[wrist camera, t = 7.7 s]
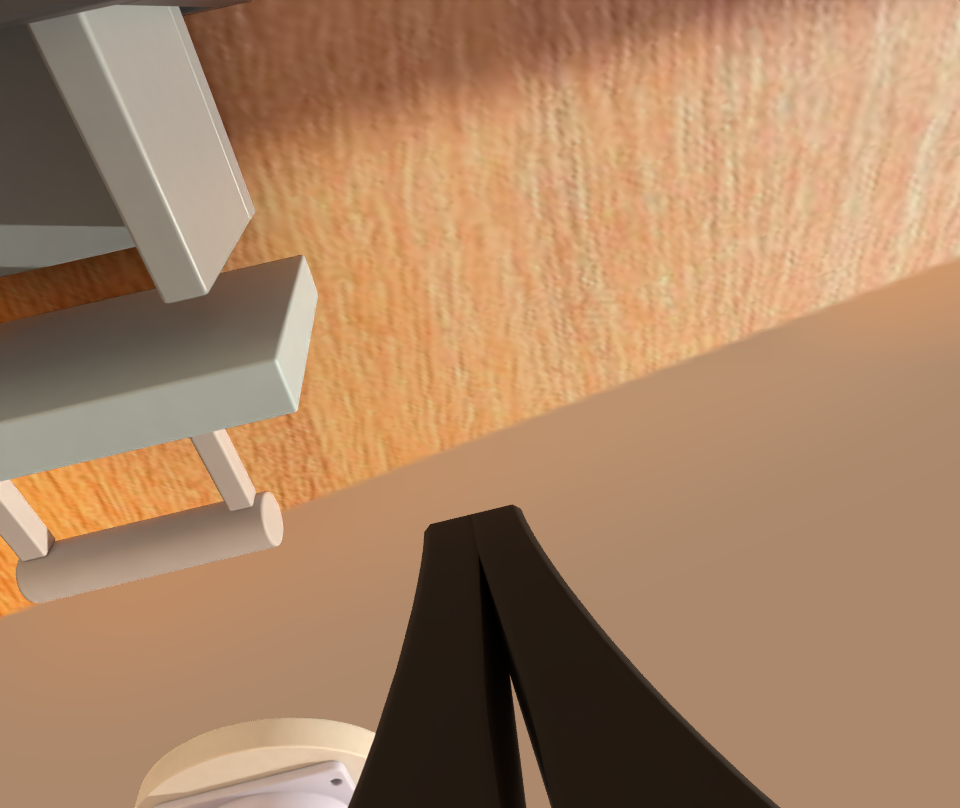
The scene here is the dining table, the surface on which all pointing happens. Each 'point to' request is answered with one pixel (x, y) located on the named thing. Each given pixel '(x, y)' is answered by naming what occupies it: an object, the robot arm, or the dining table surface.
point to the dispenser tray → (138, 316)
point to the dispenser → (90, 8)
